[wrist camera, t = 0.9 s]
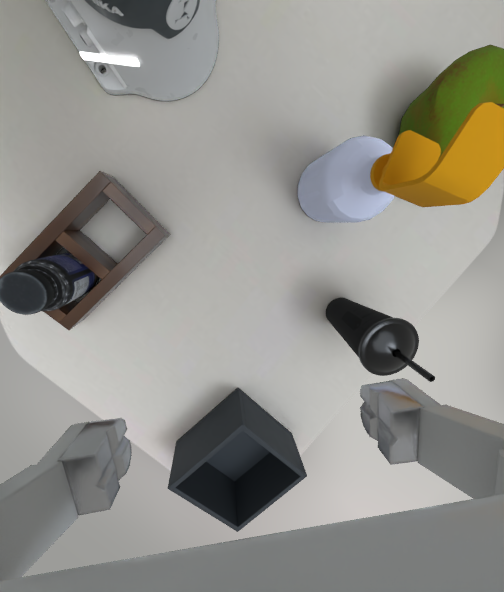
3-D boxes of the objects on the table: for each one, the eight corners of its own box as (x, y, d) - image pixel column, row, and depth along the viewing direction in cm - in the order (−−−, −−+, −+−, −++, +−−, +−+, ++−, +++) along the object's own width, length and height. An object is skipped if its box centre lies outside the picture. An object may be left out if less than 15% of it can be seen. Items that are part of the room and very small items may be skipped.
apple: (473, 144, 39) (570, 115, 29) (409, 198, 40) (479, 190, 30) (439, 65, 36) (535, -3, 25) (369, 127, 37) (433, 87, 26)
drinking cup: (319, 335, 45) (394, 418, 26) (316, 294, 43) (396, 351, 24) (360, 327, 46) (463, 402, 27) (359, 286, 43) (471, 336, 24)
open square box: (176, 441, 47) (167, 488, 39) (238, 387, 46) (242, 424, 37) (234, 481, 52) (237, 532, 43) (292, 433, 50) (307, 476, 42)
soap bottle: (363, 170, 38) (595, 87, 15) (340, 230, 40) (511, 240, 17) (309, 147, 36) (477, 12, 13) (288, 211, 38) (399, 193, 15)
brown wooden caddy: (21, 271, 36) (-2, 277, 32) (112, 176, 34) (99, 170, 30) (83, 320, 39) (68, 330, 35) (170, 234, 37) (165, 235, 33)
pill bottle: (44, 260, 36) (-27, 276, 25) (86, 245, 36) (32, 255, 26) (68, 299, 38) (10, 329, 27) (107, 285, 38) (65, 309, 27)
